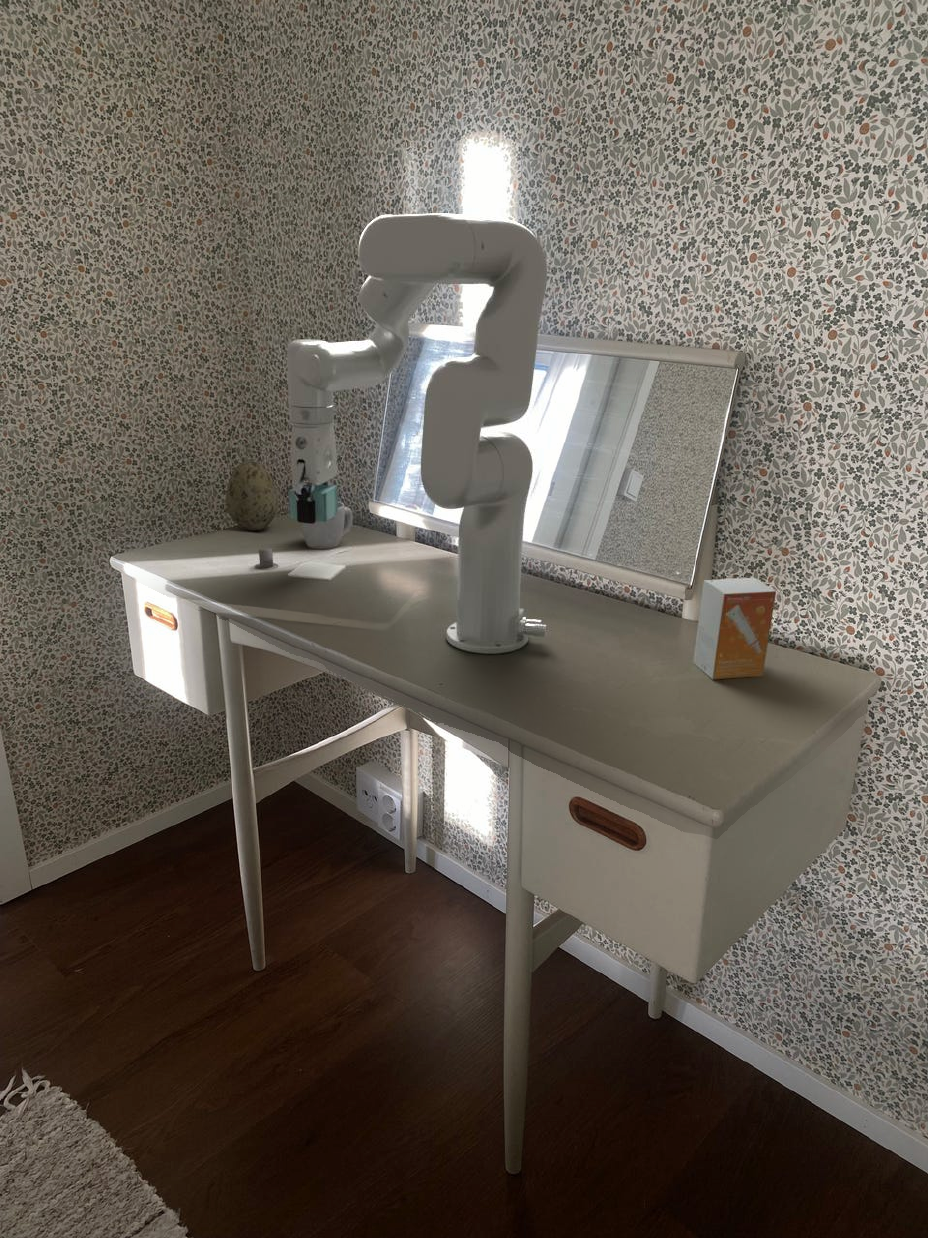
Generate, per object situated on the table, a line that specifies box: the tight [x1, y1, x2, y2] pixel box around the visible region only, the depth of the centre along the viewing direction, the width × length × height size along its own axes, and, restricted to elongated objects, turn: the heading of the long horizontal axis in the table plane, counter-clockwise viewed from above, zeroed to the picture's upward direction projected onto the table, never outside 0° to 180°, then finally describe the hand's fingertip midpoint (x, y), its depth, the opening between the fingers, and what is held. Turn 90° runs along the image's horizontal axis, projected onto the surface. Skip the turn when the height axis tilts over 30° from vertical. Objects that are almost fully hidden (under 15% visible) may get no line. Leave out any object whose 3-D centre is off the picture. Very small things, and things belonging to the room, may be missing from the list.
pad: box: [287, 561, 347, 582], centre depth 168 cm, size 8×8×1 cm
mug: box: [299, 500, 354, 550], centre depth 184 cm, size 12×9×10 cm
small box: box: [693, 577, 777, 681], centre depth 132 cm, size 8×6×13 cm
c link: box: [288, 484, 339, 522], centre depth 164 cm, size 6×6×5 cm
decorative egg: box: [225, 459, 279, 532], centre depth 196 cm, size 11×11×15 cm
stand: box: [254, 547, 280, 571], centre depth 169 cm, size 20×12×5 cm, turn 76°
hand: (314, 516), depth 165 cm, fingers closed on c link, 6 cm apart
